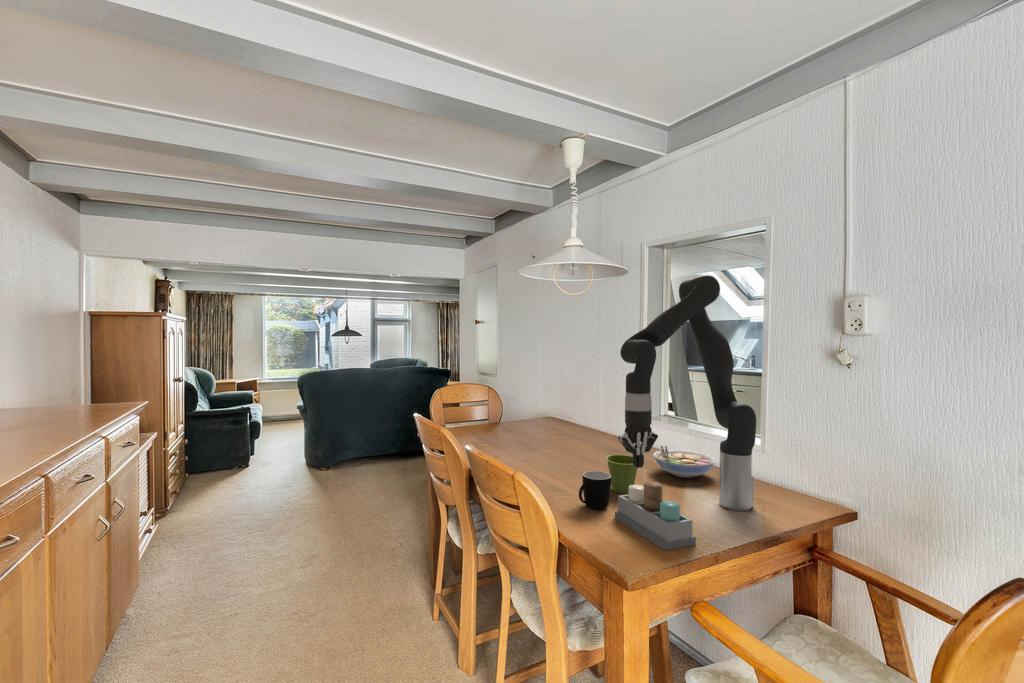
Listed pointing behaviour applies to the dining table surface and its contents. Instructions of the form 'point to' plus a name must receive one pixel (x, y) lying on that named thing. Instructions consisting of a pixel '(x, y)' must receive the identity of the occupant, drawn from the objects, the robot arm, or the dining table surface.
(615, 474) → the plant pot
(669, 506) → the teal rounded cylinder
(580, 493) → the mug
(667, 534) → the grey compartment tray
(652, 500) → the brown rounded cylinder
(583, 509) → the dining table surface
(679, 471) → the ramen bowl
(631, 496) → the white rounded piece
